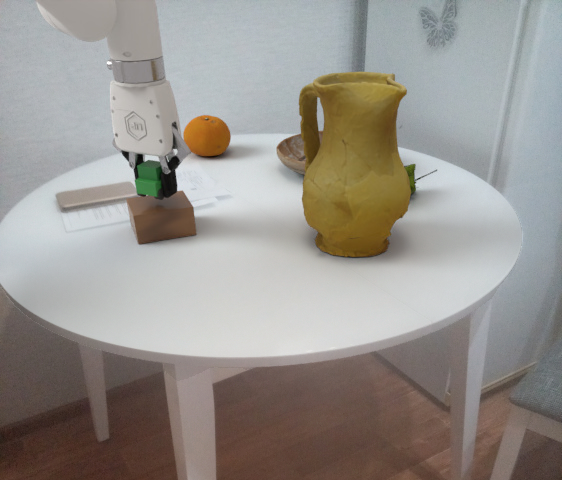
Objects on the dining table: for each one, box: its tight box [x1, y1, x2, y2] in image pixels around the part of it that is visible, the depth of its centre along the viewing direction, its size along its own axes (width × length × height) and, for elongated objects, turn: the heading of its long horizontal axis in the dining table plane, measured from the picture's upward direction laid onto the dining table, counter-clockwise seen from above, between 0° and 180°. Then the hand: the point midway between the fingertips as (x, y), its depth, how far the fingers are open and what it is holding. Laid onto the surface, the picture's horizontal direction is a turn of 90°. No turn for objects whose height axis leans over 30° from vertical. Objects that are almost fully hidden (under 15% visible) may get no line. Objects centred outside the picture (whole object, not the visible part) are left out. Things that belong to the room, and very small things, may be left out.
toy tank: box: [403, 163, 438, 194], centre depth 107 cm, size 7×19×10 cm
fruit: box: [182, 114, 232, 157], centre depth 127 cm, size 10×10×8 cm
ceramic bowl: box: [275, 130, 323, 176], centre depth 119 cm, size 23×24×5 cm
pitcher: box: [298, 71, 412, 258], centre depth 87 cm, size 17×19×25 cm
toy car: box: [134, 159, 164, 200], centre depth 92 cm, size 6×4×5 cm
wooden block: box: [125, 190, 197, 245], centre depth 96 cm, size 10×8×5 cm
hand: (157, 191), depth 93 cm, fingers closed on toy car, 4 cm apart
